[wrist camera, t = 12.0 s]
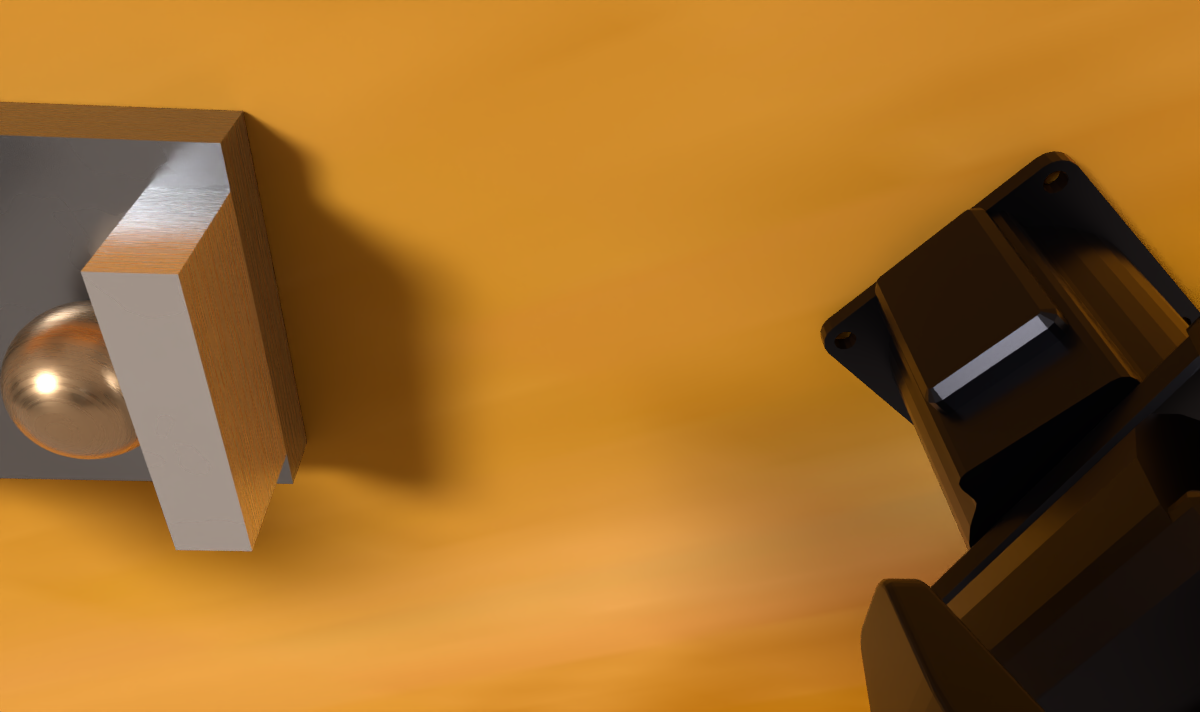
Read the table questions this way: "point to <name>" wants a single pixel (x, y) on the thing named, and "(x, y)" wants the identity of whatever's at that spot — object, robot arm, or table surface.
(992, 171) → the table surface
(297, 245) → the table surface
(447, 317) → the table surface
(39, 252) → the nutcracker bench
